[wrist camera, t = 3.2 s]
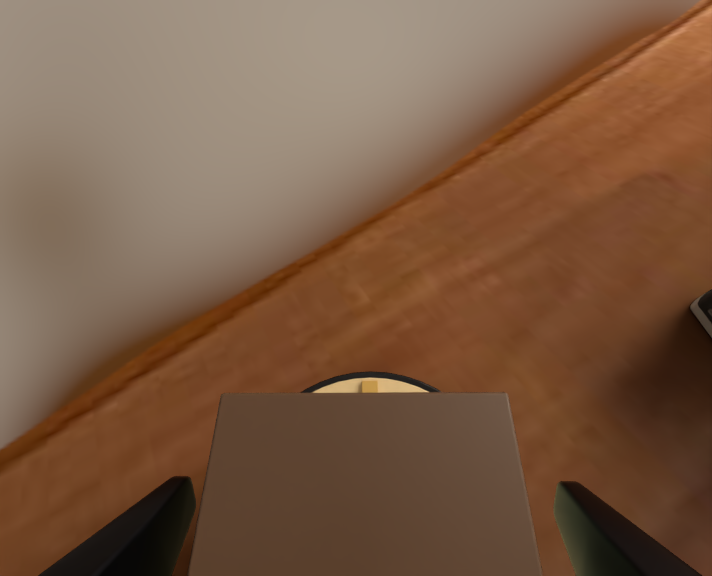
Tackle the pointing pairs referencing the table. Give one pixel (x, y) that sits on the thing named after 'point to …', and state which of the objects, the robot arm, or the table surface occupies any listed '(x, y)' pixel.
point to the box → (365, 485)
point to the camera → (704, 310)
